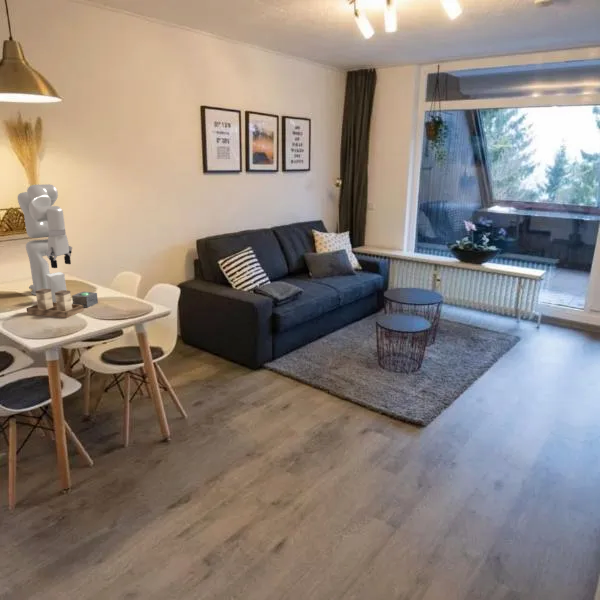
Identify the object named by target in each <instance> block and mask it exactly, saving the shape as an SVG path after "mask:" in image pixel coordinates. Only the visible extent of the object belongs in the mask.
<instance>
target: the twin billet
mask: <svg viewBox="0 0 600 600" xmlns="http://www.w3.org/2000/svg"><path fill="white" fill-rule="evenodd" d="M35 296H36V303H37V304H38V309H46V310H47V309H49V308H52V307H53V302H52V294H51V289H44V288H42V289H39V290H36V295H35ZM37 304H36V305H37Z"/></svg>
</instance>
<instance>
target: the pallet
mask: <svg viewBox="0 0 600 600" xmlns="http://www.w3.org/2000/svg"><path fill="white" fill-rule="evenodd" d="M84 308H85V307H83V305H77V304H73V303H72V309H71V310H68V311H57V304H56V302H53V307H52V308H49V309H47V310H46V309H38V304H33V305H31V306H29V307H26V313H27V314H28V315H36V316H44V317H45V316H46V317H57V318H64V319H65V318H66V319H67V318H70V317H72V316H74V315H77V314H80V313H81V312H84V310H85V309H84Z"/></svg>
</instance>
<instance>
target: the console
mask: <svg viewBox="0 0 600 600" xmlns="http://www.w3.org/2000/svg"><path fill="white" fill-rule="evenodd" d="M81 293H88V294H89V295H86V296H82V295H81ZM71 301H72V304H77V305H83V308H86V309H87V308H91V307H93V306H95V305H97V304H99V302H98V301H99V300H98V292H90V291H81V292H77V293H75V294H73V295H71Z"/></svg>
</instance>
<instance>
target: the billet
mask: <svg viewBox="0 0 600 600" xmlns="http://www.w3.org/2000/svg"><path fill="white" fill-rule="evenodd" d="M66 290H67V289H66ZM66 290H61V291H58V292H55V297H56V304H57V311H68V310H71V309H72V304H73V302H72V295H71V290H67V291H66Z"/></svg>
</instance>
